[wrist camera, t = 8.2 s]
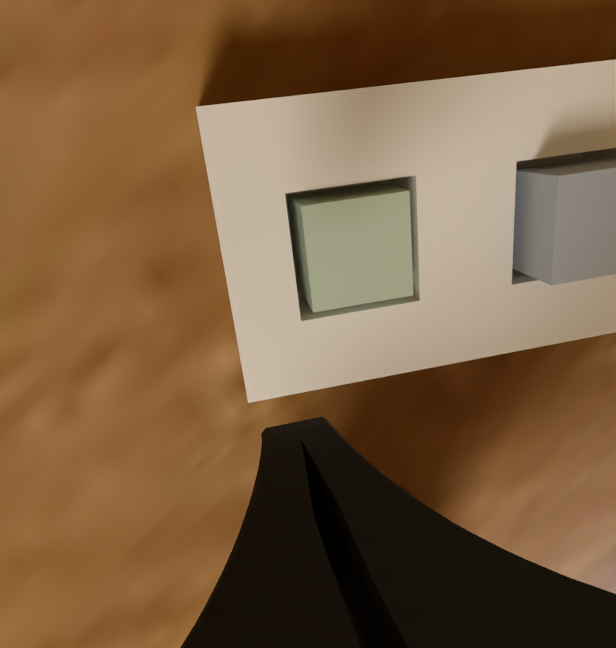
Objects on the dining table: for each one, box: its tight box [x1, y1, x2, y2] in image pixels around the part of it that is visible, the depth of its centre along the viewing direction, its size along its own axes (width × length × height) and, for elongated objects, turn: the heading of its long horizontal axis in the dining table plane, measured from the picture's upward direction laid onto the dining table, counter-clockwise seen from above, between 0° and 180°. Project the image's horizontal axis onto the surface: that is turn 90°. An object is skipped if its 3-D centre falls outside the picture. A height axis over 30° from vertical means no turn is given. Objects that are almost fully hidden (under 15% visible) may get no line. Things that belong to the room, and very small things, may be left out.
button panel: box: [196, 59, 616, 403], centre depth 20 cm, size 10×25×3 cm, turn 96°
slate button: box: [512, 157, 616, 285], centre depth 18 cm, size 4×4×3 cm
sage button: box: [288, 183, 413, 313], centre depth 18 cm, size 4×4×3 cm
